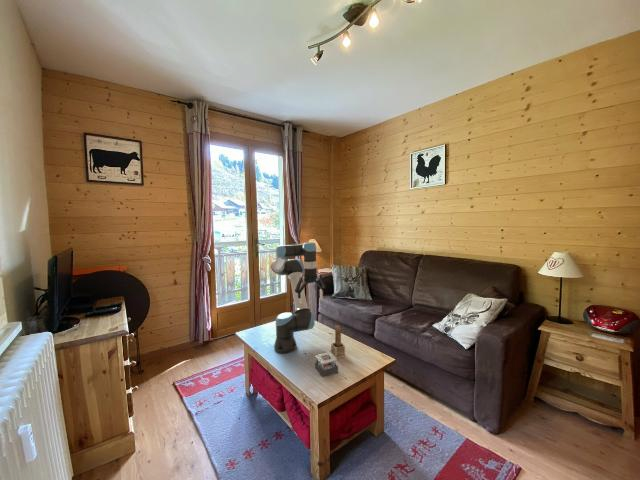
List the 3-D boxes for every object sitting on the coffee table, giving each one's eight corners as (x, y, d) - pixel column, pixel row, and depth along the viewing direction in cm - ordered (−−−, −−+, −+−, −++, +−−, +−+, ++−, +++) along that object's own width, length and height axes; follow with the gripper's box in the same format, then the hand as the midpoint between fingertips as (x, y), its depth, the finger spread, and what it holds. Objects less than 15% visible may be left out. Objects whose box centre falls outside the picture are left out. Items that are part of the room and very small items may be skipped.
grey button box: (315, 367, 160) (314, 355, 160) (330, 363, 164) (330, 351, 164) (321, 377, 151) (321, 364, 150) (337, 372, 155) (337, 359, 154)
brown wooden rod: (334, 353, 175) (334, 326, 173) (339, 351, 176) (339, 325, 175) (337, 355, 172) (336, 328, 170) (341, 354, 173) (341, 327, 171)
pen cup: (331, 353, 176) (331, 343, 175) (340, 351, 179) (340, 341, 178) (335, 358, 170) (335, 348, 169) (345, 356, 173) (345, 345, 172)
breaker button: (322, 366, 158) (322, 363, 158) (327, 364, 160) (327, 361, 159) (324, 368, 156) (324, 365, 155) (329, 367, 157) (329, 364, 157)
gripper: (292, 271, 157) (293, 306, 159) (331, 266, 167) (332, 300, 169) (288, 268, 164) (290, 302, 166) (326, 264, 174) (326, 296, 176)
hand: (311, 301), depth 168 cm, fingers open, 13 cm apart
